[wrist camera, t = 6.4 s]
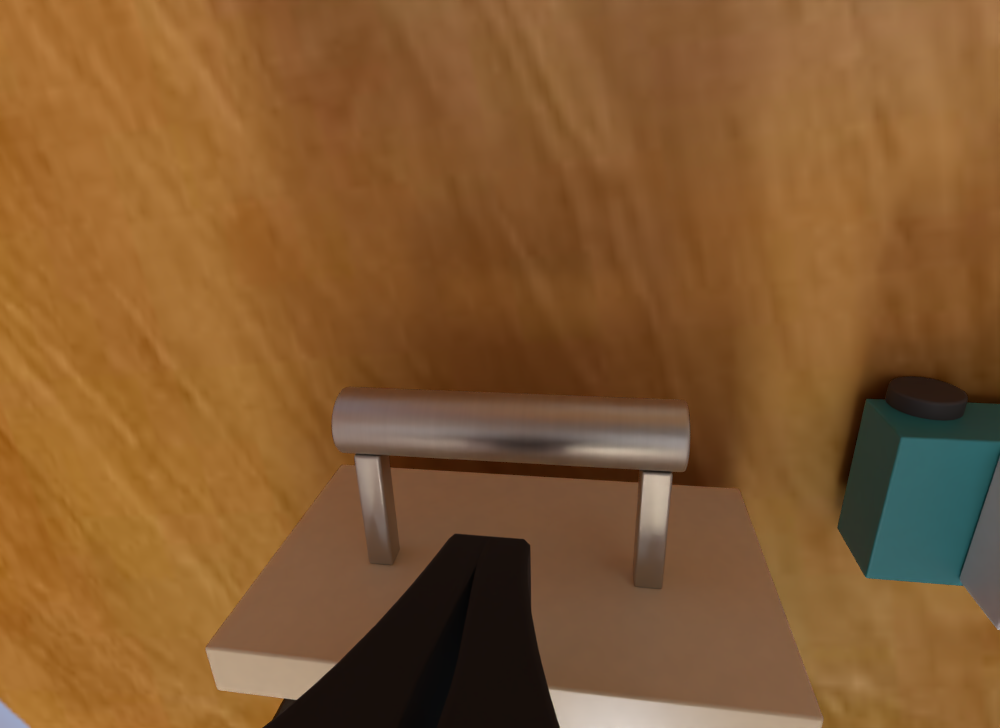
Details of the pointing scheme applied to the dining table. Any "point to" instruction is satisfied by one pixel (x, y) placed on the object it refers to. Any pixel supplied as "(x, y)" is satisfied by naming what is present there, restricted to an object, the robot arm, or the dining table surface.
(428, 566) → the robot arm
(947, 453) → the toy car
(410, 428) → the drawer
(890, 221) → the dining table surface
